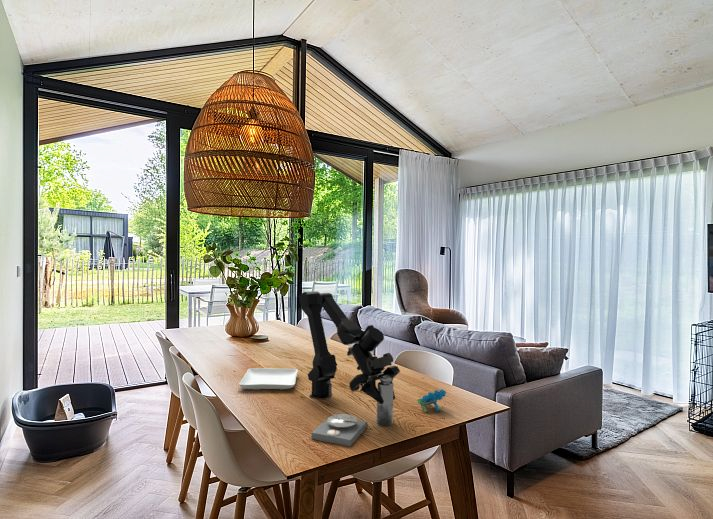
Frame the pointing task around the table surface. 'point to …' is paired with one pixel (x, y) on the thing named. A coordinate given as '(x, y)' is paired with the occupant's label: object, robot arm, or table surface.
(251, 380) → the salad plate
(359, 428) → the scale
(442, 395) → the turquoise toy figurine
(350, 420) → the scale pan
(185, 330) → the table surface
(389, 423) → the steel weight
